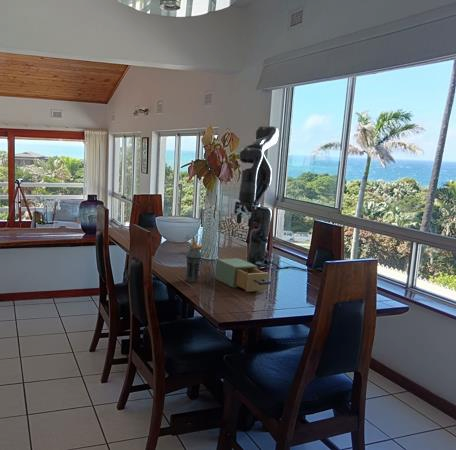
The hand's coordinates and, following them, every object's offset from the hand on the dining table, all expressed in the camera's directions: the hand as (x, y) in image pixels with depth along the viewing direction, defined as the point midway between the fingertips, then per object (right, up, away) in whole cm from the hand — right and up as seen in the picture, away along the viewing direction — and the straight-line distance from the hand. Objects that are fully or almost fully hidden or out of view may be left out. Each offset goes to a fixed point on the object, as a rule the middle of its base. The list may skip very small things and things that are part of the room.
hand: (244, 225), depth 218 cm
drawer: (+1, -28, -12) cm, 31 cm away
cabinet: (-5, -27, -1) cm, 27 cm away
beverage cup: (-25, -26, -5) cm, 37 cm away
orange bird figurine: (-17, -17, +56) cm, 61 cm away
